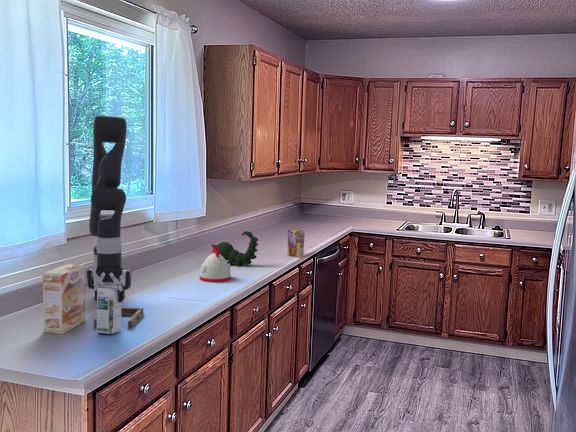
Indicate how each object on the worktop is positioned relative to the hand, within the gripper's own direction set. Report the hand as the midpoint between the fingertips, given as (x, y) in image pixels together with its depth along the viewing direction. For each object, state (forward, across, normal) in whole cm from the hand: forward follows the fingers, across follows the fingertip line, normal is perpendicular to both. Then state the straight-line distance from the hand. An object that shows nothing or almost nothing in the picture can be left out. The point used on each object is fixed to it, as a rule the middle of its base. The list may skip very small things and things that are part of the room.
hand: (109, 301), depth 193 cm
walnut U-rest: (+10, 0, -12) cm, 15 cm away
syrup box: (+10, 0, +1) cm, 10 cm away
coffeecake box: (+10, +16, -4) cm, 19 cm away
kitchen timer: (+9, -23, -78) cm, 82 cm away
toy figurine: (+9, -28, -110) cm, 114 cm away
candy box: (+9, -59, -138) cm, 150 cm away
